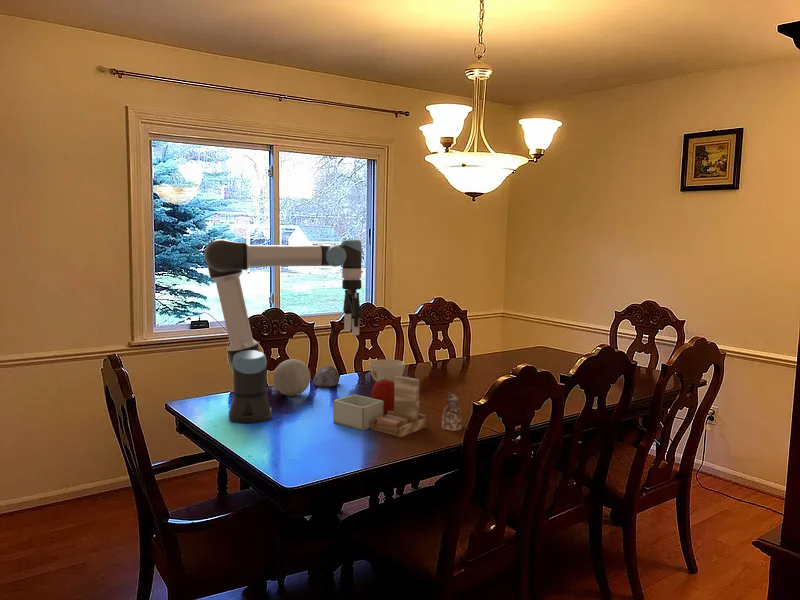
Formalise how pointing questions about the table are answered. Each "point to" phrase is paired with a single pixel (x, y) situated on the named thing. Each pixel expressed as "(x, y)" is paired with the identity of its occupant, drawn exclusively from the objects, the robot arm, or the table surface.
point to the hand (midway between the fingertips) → (351, 332)
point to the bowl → (386, 369)
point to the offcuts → (390, 423)
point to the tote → (357, 411)
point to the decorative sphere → (292, 377)
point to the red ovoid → (384, 394)
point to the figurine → (452, 414)
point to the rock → (326, 377)
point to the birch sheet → (406, 396)
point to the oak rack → (406, 429)
